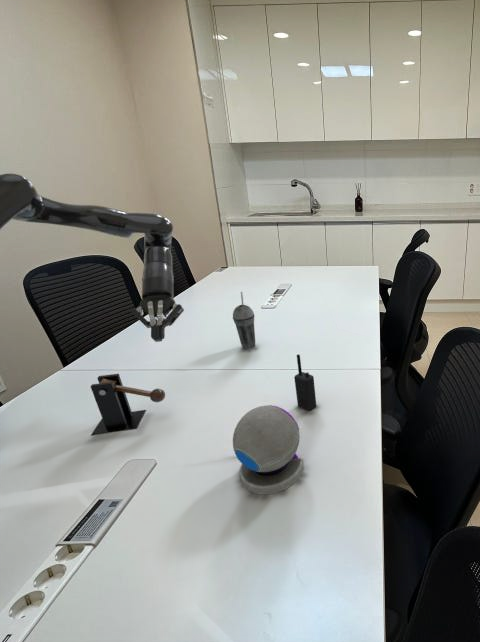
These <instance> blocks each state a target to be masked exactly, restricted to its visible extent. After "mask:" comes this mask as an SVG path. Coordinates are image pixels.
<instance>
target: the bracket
mask: <svg viewBox="0 0 480 642" xmlns="http://www.w3.org/2000/svg"><path fill="white" fill-rule="evenodd" d="M103 379H108V380H113V381H116V385H119V386H124V384H123V382H122V379H121V376H120V373H113V374H104V375H98V377H97V381H98V383H92V384H91V385H90V389H91V392H92V395H93V398H94V400H95V403H96V406H97V408H98V410H99V414H100V416H101V419H100V420H99V422H98V423H97V425H96V427H95V428H94V430H93V431H92V433H91V434H90V436H97V435H103V434H110V433H117V432H124V431H130V430H136V429H138V427H139V425H140V424H141V421H142V420H143V418H144V416H145V414H146V412H147V409H140V410H135V411H132V409H131V406H130V403H129V399H128V397H127V393H125V392H119V391H116V390H115V387H114V384H113V382H107V383H100V382H101V381H102V380H103Z"/></svg>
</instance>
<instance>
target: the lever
mask: <svg viewBox="0 0 480 642" xmlns="http://www.w3.org/2000/svg"><path fill="white" fill-rule="evenodd" d="M107 382H113V384H114V387H115V390H116V391H119V392H125V394H130V395H136V396H141V397H142V396H143V397H148V398H149V399H150V401H152V402H153V403H160V402H163V401H164V399H166V392H165V391H164V390H163V389H161V388H154V389H152V390H146V389H140V388H136V387H130V386H125V385H123V386H119V385H116V381H113V380H108V379H103V380H102V381H101V382H100V383H107Z"/></svg>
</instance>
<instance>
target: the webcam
mask: <svg viewBox="0 0 480 642" xmlns="http://www.w3.org/2000/svg"><path fill="white" fill-rule="evenodd" d="M300 435H301V434H300V428H299V425H298V423H297V420H296V419H295V418H294V417H293V415H292V414H291V413H290V412H288V411H287V410H285V409H284V408H282V407H280V406H277V405H272V404H270V405H269V404H268V405H267V404H266V405H260V406H256V407H254V408H252V409H250V410H249V411H247V412H246V413H245V414H243V416H242V417H241V418H240V419H239V421H238V422H237V424H236V426H235V428H234V431H233V435H232V448H233V451H234V455H235V456H236V458H237V460H238V461H239V463H241V465H240V468H239V478H240V483H241V485H242V486H243V487H244V489H246V490H247V491H249V492H251V493H254V494H259V495H270V494H275V493H280V492H282V491H285V490H286V489H288V488H289V487H291V486H293V485H294V484H295V483H296V482H298V480H299V479H300V478H301V476H302V474H303V472H304V466H305V464H304V459H303V458H302V457H299V456H298V455H297V454H296V453H297V451H298V449H299V446H300V439H301V438H300V437H301V436H300Z"/></svg>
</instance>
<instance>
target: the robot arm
mask: <svg viewBox="0 0 480 642" xmlns="http://www.w3.org/2000/svg"><path fill="white" fill-rule="evenodd" d="M11 220H14V221H17V222H26V223H36V224H47V225H57V226H63V227H71V228H77V229H83V230H88V231H92V232H93V231H94V232H98V233H102V234H106V235H110V236H115V237H120V238H126V239H130V238H132V237H133V236H134V234H143V236H144V237H143V239H144V241H143V242H144V254H143V270H142V276H141V277H142V278H141V282H142V284H141V290H142V291H141V300H140V303H139V306H137V307H136V308H132V309H130V312H131V313H132V315H134V316H135V318H136V319H138V320H139V321H140V323H141V324H143V326H145V327H146V328H147V329H150V338H151V339H152V340H153V342H155V343H159V342H163V340H164V339H165V337H166V336H165V335H166V334H165V331H166V327H171V326H172V325H173V324H174V323H175V322H176V321H177V320H178V318H180V316H181V315H182V314H183V313H184V312H185V309H184V307H183V306H182V304H180V303H179V304H177V303H176V301H175V298H174V296H175V295H174V292H175V291H174V290H175V289H174V271H173V254H172V241H173V240H172V239H173V234H174V233H173V232H174V225H173V223H172V221H170V220H169V219H168V217H165V216H163V215H161V214H157V213H148V212H146V213H145V212H127V211H123V210H120V209H115V208H112V207H108V206H104V205H103V206H102V205H94V204H72V203H65V202H61V201H56V200H53V199H50V198H47V197H44V196H42V195H39V193H38V191H37V189H36V188H35V186H34V184H33V183H32V182H31V181H30V180H29V179H28V178H27V177H25V176H23V175H20V174H17V173H2V174H0V231H1V230H2V229H3V227H5V225H7V224H8V223H9V222H10V221H11ZM144 312H145V313H146V314H147V315H148V318H149V321H148V320H147V319H146V318H145V317H144Z"/></svg>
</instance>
